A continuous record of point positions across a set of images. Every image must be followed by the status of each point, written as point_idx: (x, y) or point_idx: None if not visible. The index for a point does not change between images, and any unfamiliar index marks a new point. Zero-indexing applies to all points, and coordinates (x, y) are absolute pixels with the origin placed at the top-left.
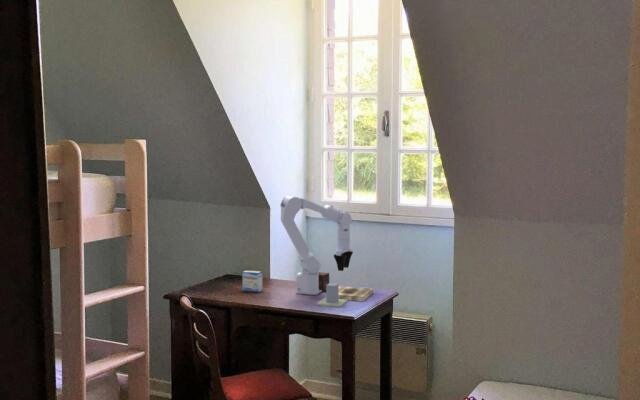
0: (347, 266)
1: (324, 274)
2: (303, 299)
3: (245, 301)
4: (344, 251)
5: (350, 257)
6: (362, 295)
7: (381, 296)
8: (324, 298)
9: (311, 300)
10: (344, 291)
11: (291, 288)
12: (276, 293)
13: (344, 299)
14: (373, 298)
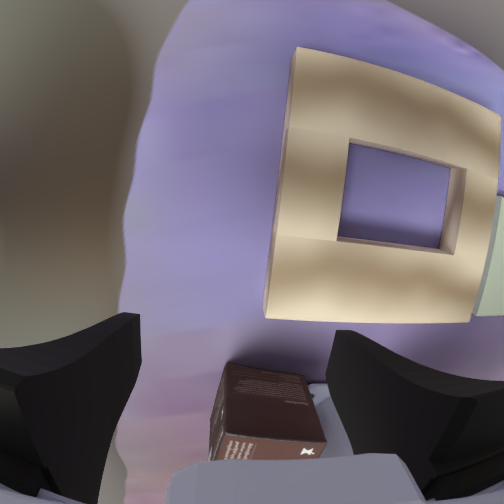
0: (135, 325)
1: (295, 446)
2: None
3: None
4: (501, 498)
5: (47, 349)
6: (484, 115)
7: (364, 12)
8: (487, 312)
9: (475, 358)
10: (369, 243)
11: None
12: None
13: (502, 212)
14: (420, 57)
